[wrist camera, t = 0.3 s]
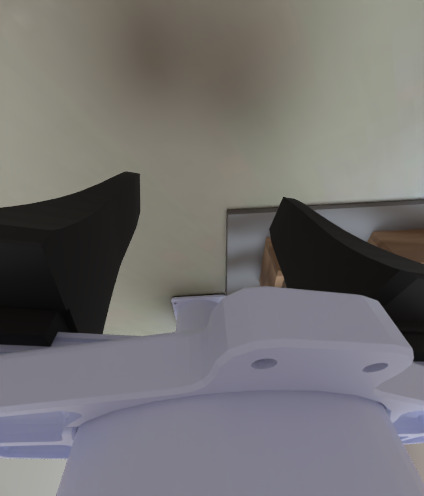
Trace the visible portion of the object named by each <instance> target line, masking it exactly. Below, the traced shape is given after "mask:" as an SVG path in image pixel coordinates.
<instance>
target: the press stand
mask: <svg viewBox="0 0 424 496" xmlns="http://www.w3.org/2000/svg"><path fill="white" fill-rule="evenodd" d="M308 207H310V208H311V209H313V210H314V211H315V212H317V213H318V214H320V215H321V216H323V217H324V218H326V219H327V220H329V221H330V222H332V223H334V224H335V225H337V226H339V227H340V228H342V229H343V230H345V231H347V232H349V233H350V234H352V235H354V236H356V237H358V238H360V239H362V240H364V241H366V242H368V243H370V244H372V245H375V246H377V247H379V248H382V249H384V250H386V251H389V252H391V253H394V254H396V255H399V256H402V257H405V258H407V259H410V260H413V261H416V262H419V263H422V264H424V200H410V201H392V202H373V203H355V204H336V205H318V206H308ZM277 210H278V208H263V209H244V210H227V269H226V296H227V295H230V294H232V293H234V292H236V291H239V290H241V289H243V288H250V287H263V286H270V287H281V288H282V284H283V281H284V277H283V274H282V272H281V269H280V266H279V263H278V260H277V258H276V255H275V252H274V249H273V246H272V243H271V238H270V231H269V228H270V226H271V224H272V221H273V219H274V217H275V215H276V212H277Z"/></svg>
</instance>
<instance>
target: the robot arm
mask: <svg viewBox="0 0 424 496" xmlns="http://www.w3.org/2000/svg"><path fill="white" fill-rule="evenodd" d="M139 214H140V174H138V173H132V172H123V173H121V174H119V175H116V176H114V177H112V178H110V179H108V180H106V181H104V182H102V183H100V184H97V185H95V186H92V187H90V188H87V189H85V190H83V191H80V192H77V193H74V194H71V195H67V196H64V197H60V198H56V199H52V200H47V201H42V202H37V203H32V204H26V205H19V206H12V207H3V208H0V458H14V459H15V458H16V459H18V458H19V459H68V460H67V463H66V466H65V470H64V473H63V476H62V479H61V482H60V485H59V488H58V491H57V494H56V496H424V483H423V481H422V479H421V477H420V475H419V474H418V471H417V469H416V467H415V466H414V464H413V462H412V460H411V458H410V456H409V454H408V452H407V450H406V448H405V446H404V444H414V443H424V264H422V263H419V262H416V261H413V260H410V259H407V258H405V257H402V256H399V255H396V254H394V253H391V252H389V251H386V250H384V249H382V248H379V247H377V246H375V245H372V244H370V243H368V242H366V241H364V240H362V239H360V238H358V237H356V236H354V235H352V234H350V233H349V232H347V231H345V230H343V229H342V228H340V227H339V226H337V225H335V224H334V223H332V222H330V221H329V220H327V219H326V218H324V217H323V216H321V215H320V214H318V213H317V212H315V211H314V210H313V209H311V208H310V207H308V206H306V205H305V204H303V203H302V202H300V201H298V200H296V199H292V198H286V197H283V199H282V201H281V203H280V206H279V208H278V210H277V212H276V215H275V217H274V219H273V221H272V224H271V226H270V228H269V231H270V238H271V243H272V246H273V249H274V252H275V255H276V258H277V260H278V263H279V266H280V269H281V272H282V274H283V277H284V280H285V284H286V288H281V287H270V286H263V287H250V288H243V289H241V290H239V291H236V292H234V293H232V294H230V295H227V296H226V295H224V294H222V295H205V296H187V297H173V298H172V300H171V302H172V306H173V309H174V313H175V317H176V321H177V322H176V332H172V333H164V334H156V335H148V336H126V335H106V334H103V329H104V325H105V321H106V317H107V313H108V308H109V304H110V301H111V297H112V293H113V289H114V285H115V282H116V278H117V275H118V271H119V268H120V265H121V262H122V260H123V257H124V255H125V253H126V250H127V248H128V246H129V243H130V241H131V239H132V236H133V234H134V231H135V229H136V226H137V222H138V218H139Z"/></svg>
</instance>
